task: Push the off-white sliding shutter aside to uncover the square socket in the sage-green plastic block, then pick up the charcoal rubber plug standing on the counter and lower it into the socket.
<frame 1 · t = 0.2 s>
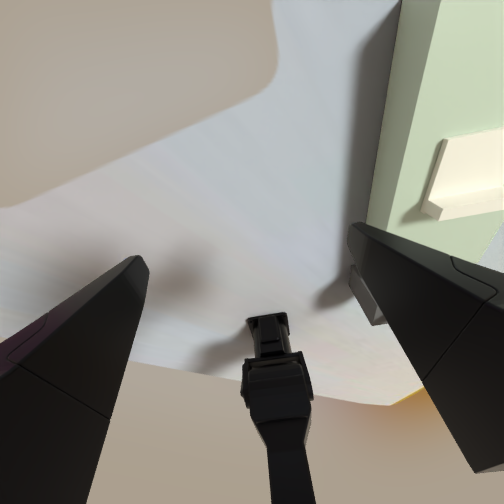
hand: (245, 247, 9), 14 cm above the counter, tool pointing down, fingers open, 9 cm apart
socket: (434, 158, 22), on the counter
shutter: (480, 175, 18), point 5 cm above the counter, slide at 0.0 cm
plug: (364, 273, 31), on the counter
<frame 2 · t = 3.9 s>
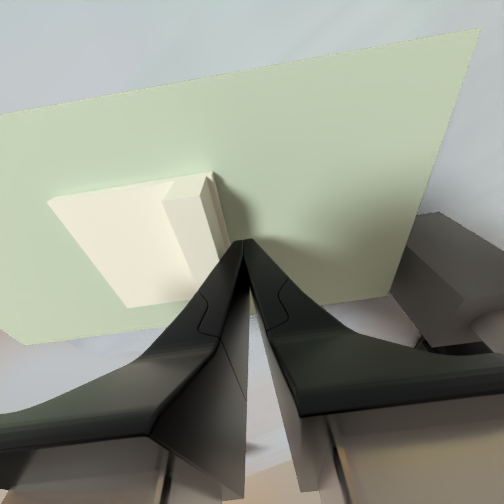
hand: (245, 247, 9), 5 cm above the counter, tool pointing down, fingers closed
socket: (181, 210, 14), on the counter
shutter: (156, 264, 10), point 5 cm above the counter, slide at 0.0 cm, touching gripper
plug: (401, 240, 16), on the counter
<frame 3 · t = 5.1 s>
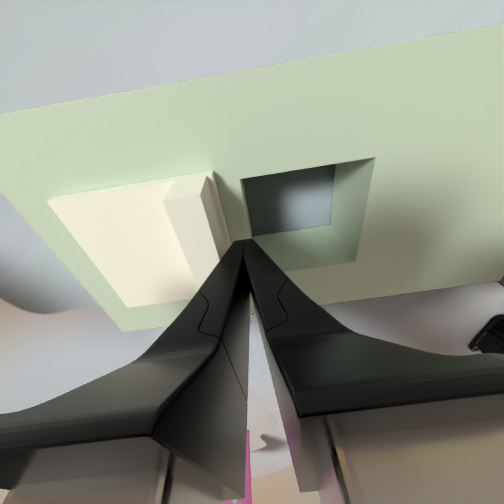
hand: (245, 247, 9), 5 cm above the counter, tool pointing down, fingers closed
socket: (289, 193, 13), on the counter
gum box: (185, 429, 40), on the counter
shutter: (157, 263, 10), point 5 cm above the counter, slide at 6.9 cm, touching gripper
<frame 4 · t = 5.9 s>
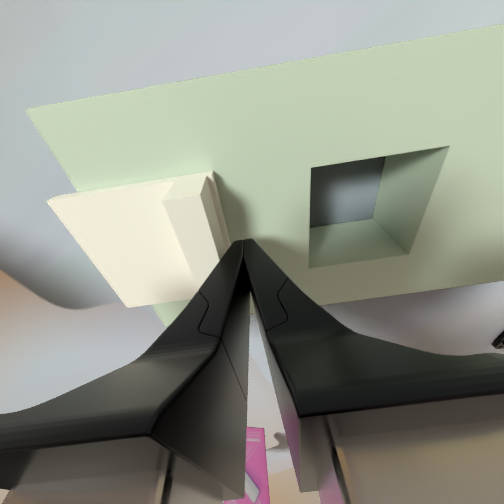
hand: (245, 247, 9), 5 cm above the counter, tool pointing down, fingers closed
socket: (336, 186, 13), on the counter
gum box: (201, 427, 40), on the counter
shutter: (156, 263, 10), point 5 cm above the counter, slide at 9.7 cm, touching gripper
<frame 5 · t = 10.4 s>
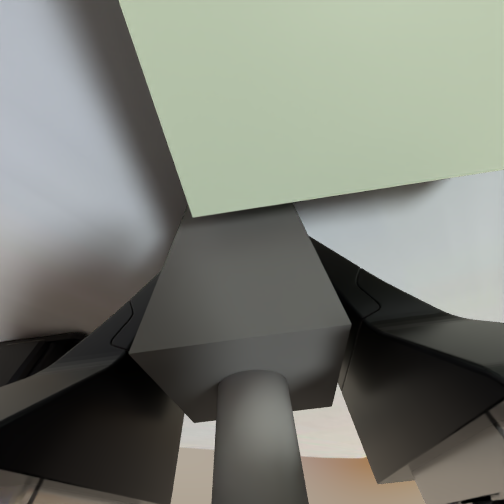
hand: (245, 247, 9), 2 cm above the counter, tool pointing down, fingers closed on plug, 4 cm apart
plug: (243, 229, 11), on the counter, touching gripper
when the fingers open (5 cm above the counter, at t = 14.6 s): plug drops 3 cm, resting in socket.
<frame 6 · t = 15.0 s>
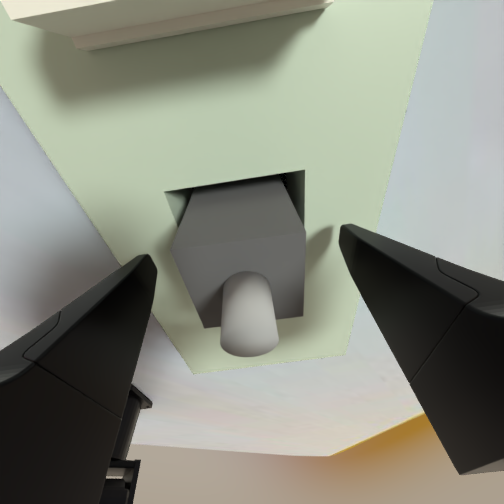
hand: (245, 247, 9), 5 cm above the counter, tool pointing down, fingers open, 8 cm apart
socket: (242, 201, 13), on the counter
plug: (242, 202, 13), resting in socket
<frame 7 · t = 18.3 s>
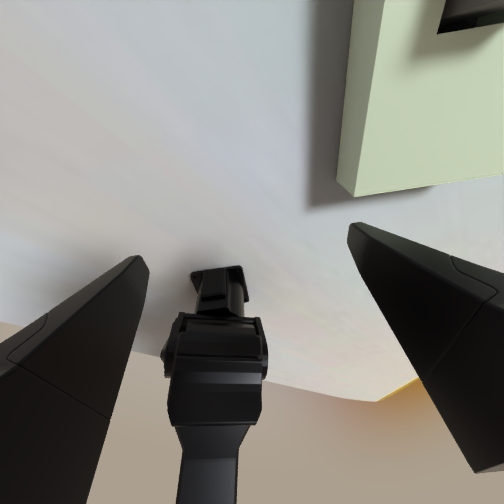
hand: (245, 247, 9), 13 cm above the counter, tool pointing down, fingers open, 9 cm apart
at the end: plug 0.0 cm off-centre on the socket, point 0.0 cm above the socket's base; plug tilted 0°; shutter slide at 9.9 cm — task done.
